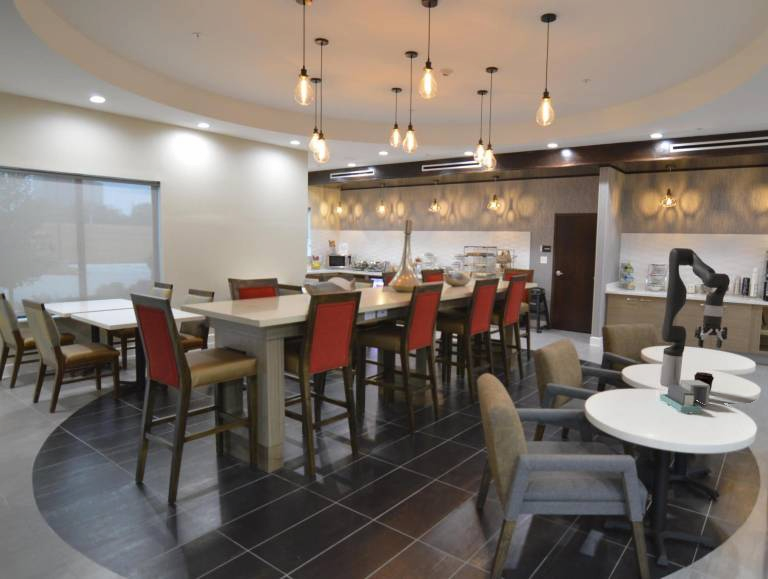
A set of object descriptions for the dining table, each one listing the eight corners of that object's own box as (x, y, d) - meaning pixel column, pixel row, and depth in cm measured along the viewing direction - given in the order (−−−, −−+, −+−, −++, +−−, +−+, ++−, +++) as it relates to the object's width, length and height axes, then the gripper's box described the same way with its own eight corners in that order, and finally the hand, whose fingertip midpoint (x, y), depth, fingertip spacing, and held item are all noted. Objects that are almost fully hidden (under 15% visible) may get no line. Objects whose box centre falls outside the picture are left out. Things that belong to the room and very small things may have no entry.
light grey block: (678, 399, 255) (680, 379, 254) (697, 400, 255) (699, 380, 254) (688, 405, 247) (691, 384, 246) (707, 406, 247) (710, 385, 246)
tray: (659, 399, 254) (660, 393, 253) (678, 400, 254) (679, 394, 253) (680, 412, 236) (681, 406, 235) (700, 413, 236) (701, 406, 235)
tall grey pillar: (666, 400, 251) (668, 384, 250) (676, 400, 251) (678, 385, 250) (682, 409, 238) (684, 393, 237) (693, 410, 238) (695, 393, 237)
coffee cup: (710, 402, 253) (713, 376, 251) (691, 398, 258) (693, 373, 256) (712, 398, 260) (714, 373, 258) (693, 394, 265) (695, 370, 263)
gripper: (722, 313, 250) (719, 346, 251) (693, 312, 250) (690, 345, 251) (733, 316, 242) (729, 349, 244) (703, 315, 242) (699, 348, 244)
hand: (709, 347), depth 248 cm, fingers open, 8 cm apart
